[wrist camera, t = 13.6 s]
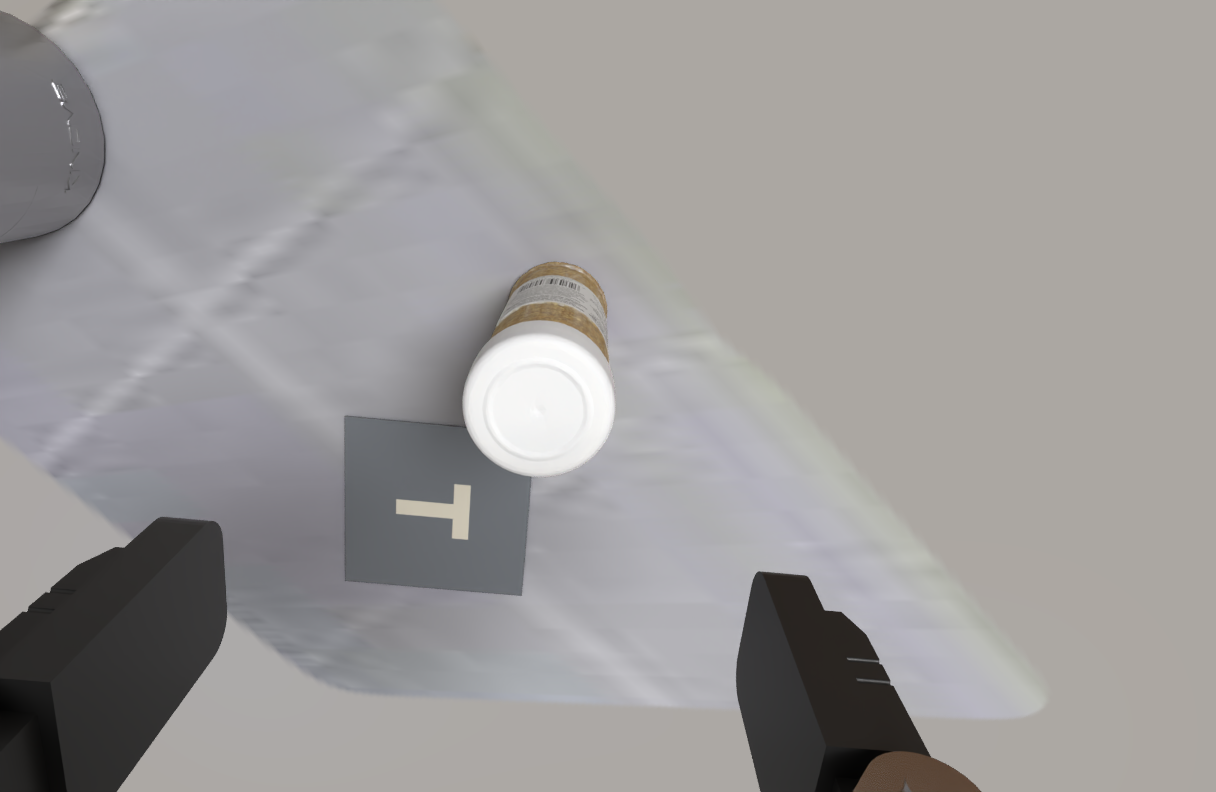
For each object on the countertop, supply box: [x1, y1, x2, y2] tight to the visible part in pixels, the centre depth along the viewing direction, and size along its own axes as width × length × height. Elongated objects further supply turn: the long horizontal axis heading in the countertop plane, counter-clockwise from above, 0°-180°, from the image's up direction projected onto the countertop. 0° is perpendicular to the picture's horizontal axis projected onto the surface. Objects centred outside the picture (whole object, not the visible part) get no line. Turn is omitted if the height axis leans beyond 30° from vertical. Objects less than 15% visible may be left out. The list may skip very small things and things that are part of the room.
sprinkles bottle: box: [462, 262, 616, 477], centre depth 29 cm, size 5×5×13 cm
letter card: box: [345, 416, 531, 596], centre depth 38 cm, size 9×9×1 cm
